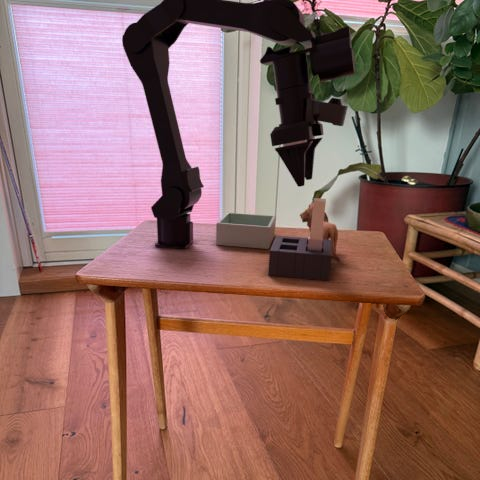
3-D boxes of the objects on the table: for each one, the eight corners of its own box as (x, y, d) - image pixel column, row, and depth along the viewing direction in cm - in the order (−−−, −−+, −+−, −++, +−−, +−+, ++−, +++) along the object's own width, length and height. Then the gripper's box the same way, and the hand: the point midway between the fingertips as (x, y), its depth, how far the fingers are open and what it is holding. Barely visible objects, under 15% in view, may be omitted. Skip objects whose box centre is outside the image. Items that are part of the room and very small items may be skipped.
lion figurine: (294, 244, 99) (298, 202, 95) (316, 242, 100) (320, 201, 96) (328, 264, 86) (333, 217, 82) (352, 262, 88) (359, 216, 84)
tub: (216, 244, 96) (216, 223, 94) (226, 232, 106) (227, 212, 104) (268, 249, 94) (270, 227, 92) (274, 235, 104) (275, 215, 102)
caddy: (268, 275, 79) (269, 250, 78) (274, 258, 89) (276, 235, 87) (328, 281, 78) (332, 255, 76) (328, 262, 87) (331, 239, 85)
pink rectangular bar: (304, 275, 80) (312, 200, 75) (305, 270, 82) (312, 198, 77) (318, 276, 80) (327, 201, 74) (318, 272, 82) (327, 198, 77)
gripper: (335, 72, 66) (346, 182, 72) (346, 81, 83) (354, 169, 88) (262, 90, 70) (278, 193, 75) (286, 94, 86) (297, 179, 92)
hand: (305, 182), depth 83 cm, fingers open, 9 cm apart
